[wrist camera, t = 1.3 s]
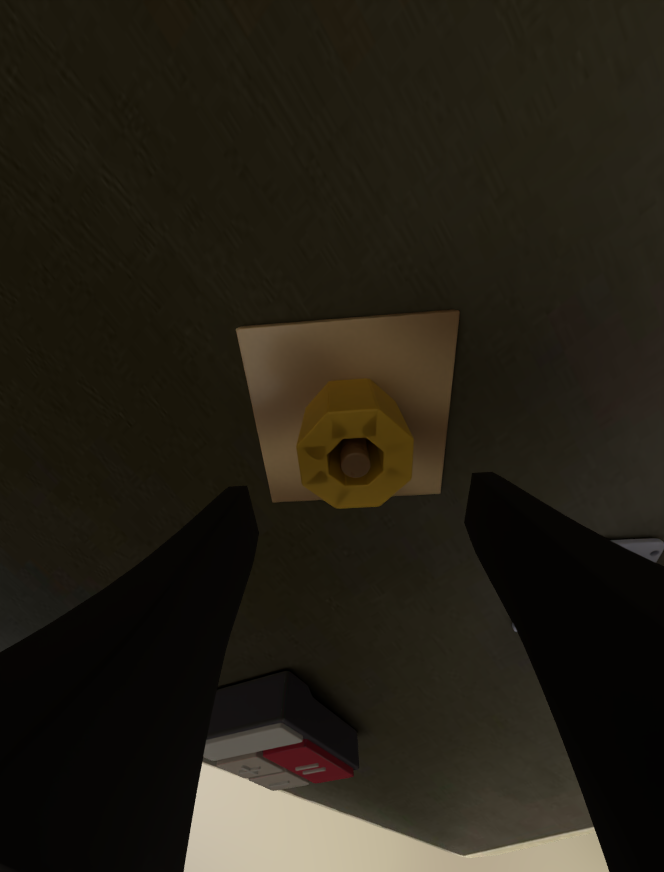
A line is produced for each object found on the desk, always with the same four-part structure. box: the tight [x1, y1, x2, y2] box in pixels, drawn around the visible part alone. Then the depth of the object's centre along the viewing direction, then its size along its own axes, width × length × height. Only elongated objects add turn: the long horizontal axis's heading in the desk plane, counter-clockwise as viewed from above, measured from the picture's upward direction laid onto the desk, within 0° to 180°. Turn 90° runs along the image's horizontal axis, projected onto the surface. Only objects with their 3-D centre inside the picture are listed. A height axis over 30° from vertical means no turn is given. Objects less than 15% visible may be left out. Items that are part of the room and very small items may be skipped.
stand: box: [236, 309, 460, 502], centre depth 14 cm, size 10×10×5 cm
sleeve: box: [296, 378, 414, 509], centre depth 14 cm, size 5×5×4 cm
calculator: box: [203, 671, 359, 791], centre depth 31 cm, size 11×4×15 cm
